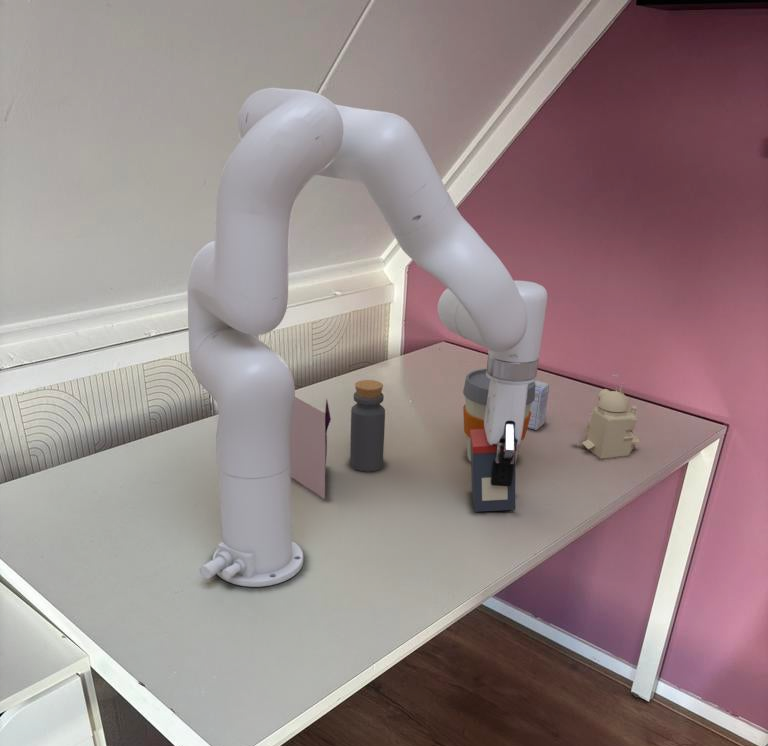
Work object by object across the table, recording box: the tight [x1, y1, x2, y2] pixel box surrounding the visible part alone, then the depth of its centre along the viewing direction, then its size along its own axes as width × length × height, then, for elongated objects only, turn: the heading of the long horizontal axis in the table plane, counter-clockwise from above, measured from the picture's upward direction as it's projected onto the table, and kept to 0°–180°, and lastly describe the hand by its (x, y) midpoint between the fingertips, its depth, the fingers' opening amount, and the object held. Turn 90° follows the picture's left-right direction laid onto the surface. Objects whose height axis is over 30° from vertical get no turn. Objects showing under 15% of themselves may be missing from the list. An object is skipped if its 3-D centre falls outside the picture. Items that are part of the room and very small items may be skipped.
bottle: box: [349, 379, 386, 472], centre depth 139 cm, size 6×6×15 cm
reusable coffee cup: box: [462, 368, 536, 463], centre depth 144 cm, size 13×13×15 cm
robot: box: [578, 373, 641, 459], centre depth 149 cm, size 10×8×15 cm
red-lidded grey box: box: [470, 429, 517, 513], centre depth 128 cm, size 12×7×7 cm
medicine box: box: [527, 380, 550, 431], centre depth 160 cm, size 8×4×9 cm, turn 58°
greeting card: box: [290, 396, 332, 500], centre depth 132 cm, size 11×7×15 cm, turn 3°
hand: (498, 473), depth 129 cm, fingers closed on red-lidded grey box, 6 cm apart
